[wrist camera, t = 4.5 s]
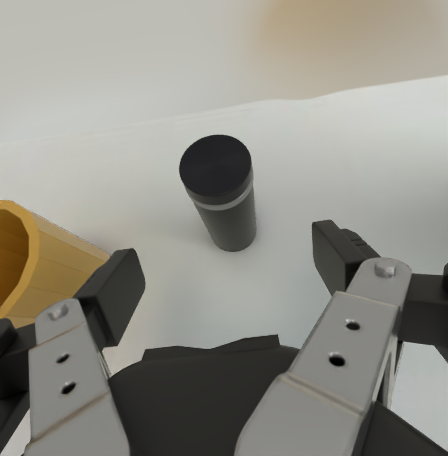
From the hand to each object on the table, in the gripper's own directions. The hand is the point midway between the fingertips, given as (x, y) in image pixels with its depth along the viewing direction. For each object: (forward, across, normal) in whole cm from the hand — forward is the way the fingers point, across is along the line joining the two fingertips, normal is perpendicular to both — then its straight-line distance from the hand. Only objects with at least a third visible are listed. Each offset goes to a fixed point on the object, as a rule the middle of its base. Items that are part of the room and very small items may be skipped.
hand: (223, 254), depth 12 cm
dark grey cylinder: (+10, 0, +3) cm, 11 cm away
